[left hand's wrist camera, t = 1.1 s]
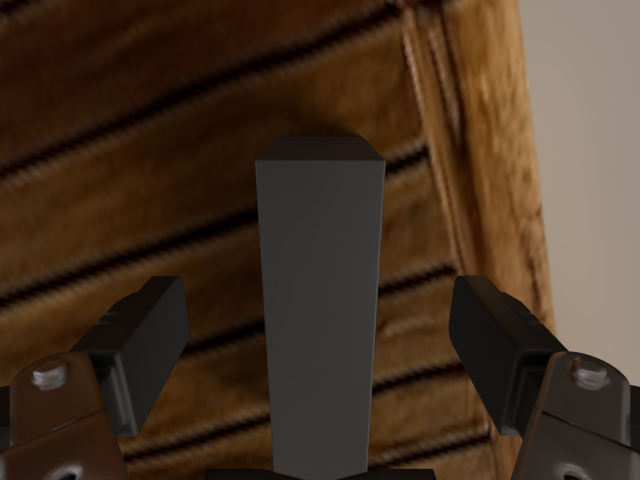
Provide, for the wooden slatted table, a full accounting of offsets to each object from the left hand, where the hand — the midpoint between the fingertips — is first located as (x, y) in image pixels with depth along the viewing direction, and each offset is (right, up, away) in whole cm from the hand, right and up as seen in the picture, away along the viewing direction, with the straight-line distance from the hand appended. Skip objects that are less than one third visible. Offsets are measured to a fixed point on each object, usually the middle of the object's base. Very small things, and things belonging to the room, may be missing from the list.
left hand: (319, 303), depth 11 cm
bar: (0, -2, +17) cm, 17 cm away
